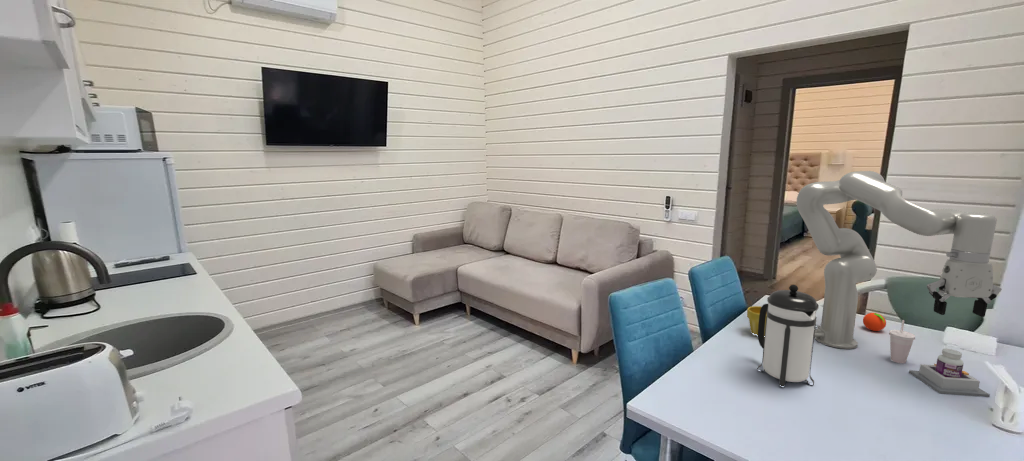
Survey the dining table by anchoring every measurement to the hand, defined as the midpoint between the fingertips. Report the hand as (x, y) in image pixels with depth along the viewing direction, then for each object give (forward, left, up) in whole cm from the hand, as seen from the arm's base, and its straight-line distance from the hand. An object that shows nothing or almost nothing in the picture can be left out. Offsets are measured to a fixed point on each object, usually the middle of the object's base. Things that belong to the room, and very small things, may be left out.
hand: (958, 314), depth 121 cm
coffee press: (-46, -2, -22) cm, 51 cm away
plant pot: (-40, +30, -22) cm, 55 cm away
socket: (0, 0, -22) cm, 22 cm away
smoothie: (-4, +14, -22) cm, 26 cm away
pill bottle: (0, 0, -21) cm, 21 cm away
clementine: (+4, +40, -22) cm, 46 cm away
